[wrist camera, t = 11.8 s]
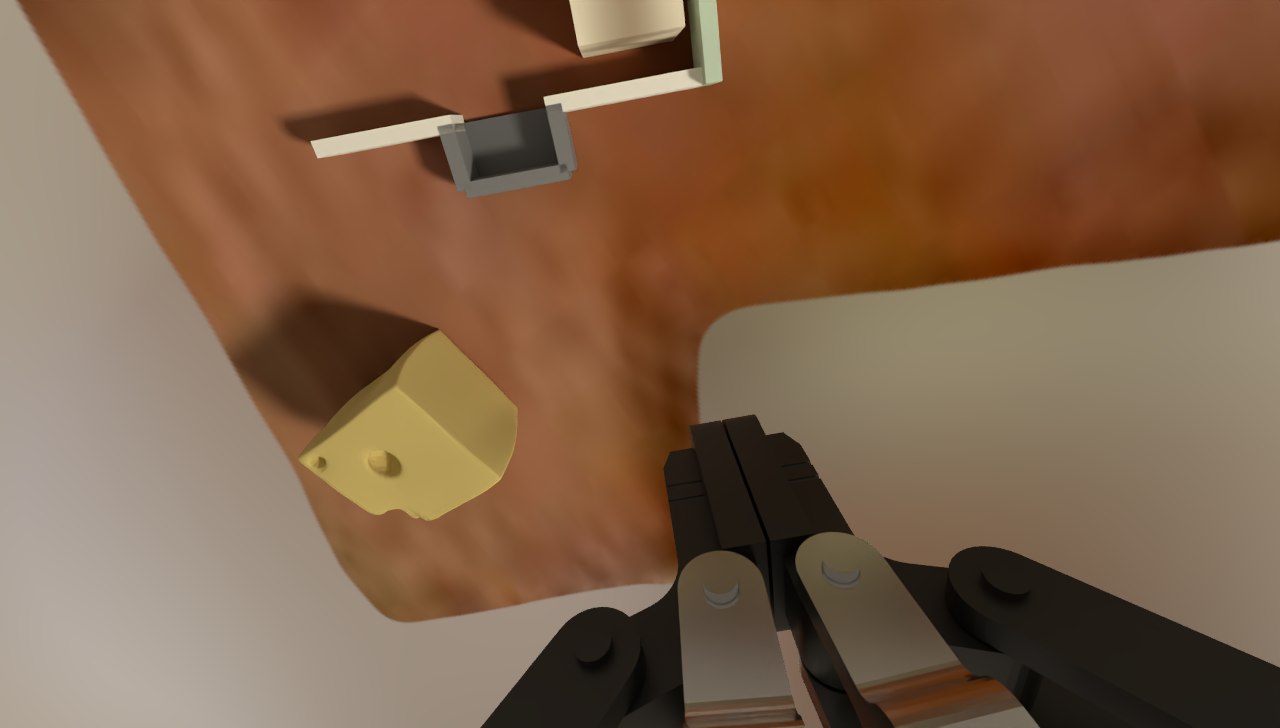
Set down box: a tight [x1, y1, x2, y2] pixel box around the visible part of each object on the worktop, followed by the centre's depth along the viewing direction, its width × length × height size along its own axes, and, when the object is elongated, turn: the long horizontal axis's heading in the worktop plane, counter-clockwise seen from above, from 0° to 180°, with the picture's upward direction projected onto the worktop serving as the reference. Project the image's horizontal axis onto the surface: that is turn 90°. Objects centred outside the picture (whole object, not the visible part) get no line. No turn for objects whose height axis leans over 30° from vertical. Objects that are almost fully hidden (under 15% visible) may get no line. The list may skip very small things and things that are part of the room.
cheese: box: [298, 330, 518, 520], centre depth 39 cm, size 10×11×10 cm
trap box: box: [310, 0, 722, 198], centre depth 29 cm, size 26×20×4 cm
